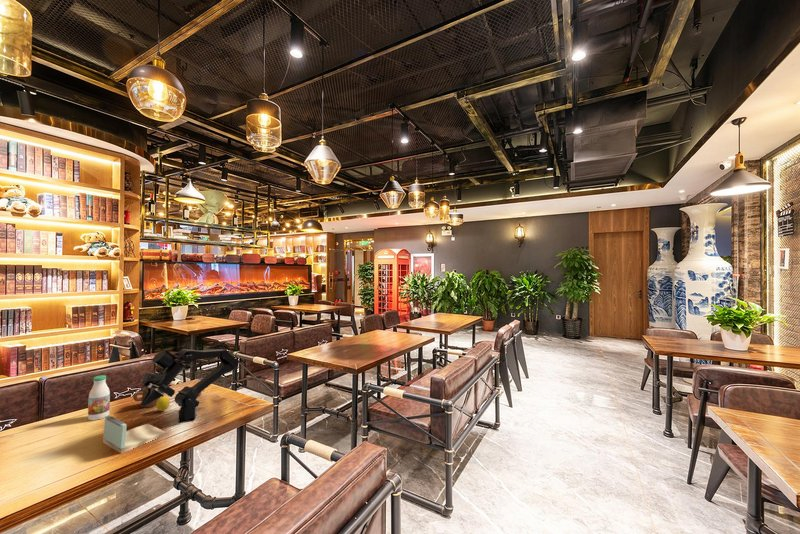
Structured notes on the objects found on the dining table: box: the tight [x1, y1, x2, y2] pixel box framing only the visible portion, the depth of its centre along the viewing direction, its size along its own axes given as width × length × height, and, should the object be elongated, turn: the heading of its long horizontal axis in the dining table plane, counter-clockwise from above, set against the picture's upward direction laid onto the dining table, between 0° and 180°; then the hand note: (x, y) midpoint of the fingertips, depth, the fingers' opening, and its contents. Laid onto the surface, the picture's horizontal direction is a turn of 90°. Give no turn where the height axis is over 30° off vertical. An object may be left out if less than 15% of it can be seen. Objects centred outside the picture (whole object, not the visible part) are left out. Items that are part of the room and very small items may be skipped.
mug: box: [132, 386, 159, 408], centre depth 169 cm, size 12×8×9 cm, turn 154°
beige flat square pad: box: [102, 423, 167, 454], centre depth 137 cm, size 16×16×2 cm
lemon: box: [155, 395, 171, 412], centre depth 164 cm, size 6×6×8 cm
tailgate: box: [103, 415, 128, 449], centre depth 131 cm, size 2×16×9 cm, turn 62°
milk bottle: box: [87, 374, 111, 421], centre depth 156 cm, size 8×8×20 cm
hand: (141, 405), depth 139 cm, fingers closed
